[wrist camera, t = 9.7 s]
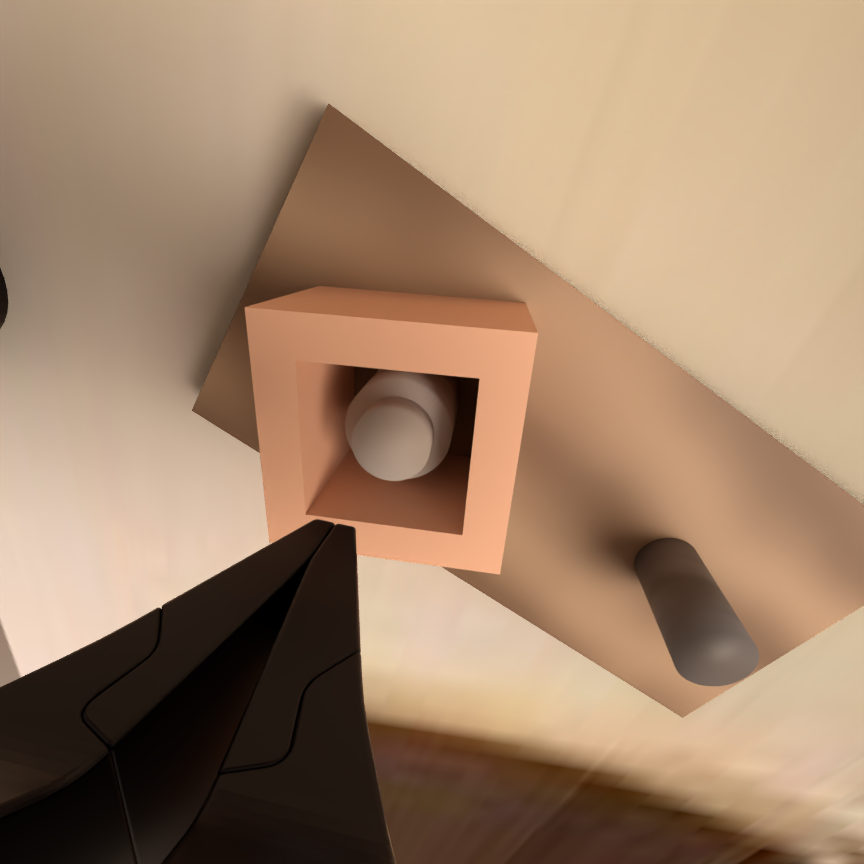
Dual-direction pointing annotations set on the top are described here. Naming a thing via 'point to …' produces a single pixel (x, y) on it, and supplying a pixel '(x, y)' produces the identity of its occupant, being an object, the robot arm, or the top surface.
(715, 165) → the top surface
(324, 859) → the robot arm
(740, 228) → the top surface
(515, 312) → the collar
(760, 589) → the collar board
